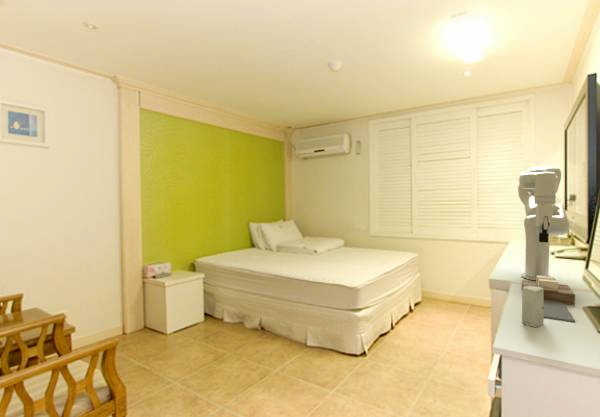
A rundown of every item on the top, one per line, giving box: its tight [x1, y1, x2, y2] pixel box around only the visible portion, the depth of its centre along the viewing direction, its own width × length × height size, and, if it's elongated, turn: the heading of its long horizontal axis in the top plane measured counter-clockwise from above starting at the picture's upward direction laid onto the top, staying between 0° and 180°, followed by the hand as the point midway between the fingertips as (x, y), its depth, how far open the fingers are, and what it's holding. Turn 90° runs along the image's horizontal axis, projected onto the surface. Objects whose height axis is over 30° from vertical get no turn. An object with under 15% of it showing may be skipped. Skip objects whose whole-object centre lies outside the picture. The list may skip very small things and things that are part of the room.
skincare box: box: [521, 286, 545, 328], centre depth 108 cm, size 6×4×12 cm
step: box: [520, 279, 576, 306], centre depth 135 cm, size 14×16×4 cm
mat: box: [543, 300, 576, 323], centre depth 120 cm, size 20×12×1 cm, turn 150°
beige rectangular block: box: [535, 275, 559, 291], centre depth 134 cm, size 9×6×4 cm, turn 150°
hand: (543, 241), depth 143 cm, fingers closed
